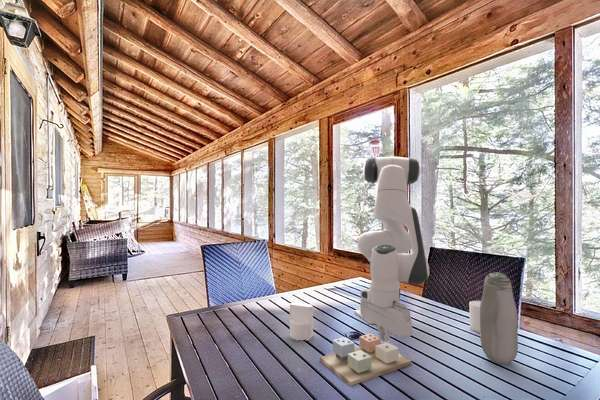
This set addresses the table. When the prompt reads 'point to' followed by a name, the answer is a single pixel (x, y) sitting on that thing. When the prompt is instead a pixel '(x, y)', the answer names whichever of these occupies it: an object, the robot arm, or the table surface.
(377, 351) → the tile one
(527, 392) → the table surface
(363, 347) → the tile four
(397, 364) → the board
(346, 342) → the tile three
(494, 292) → the grey tall rounded block
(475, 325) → the mug
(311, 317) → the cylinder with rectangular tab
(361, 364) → the tile two
